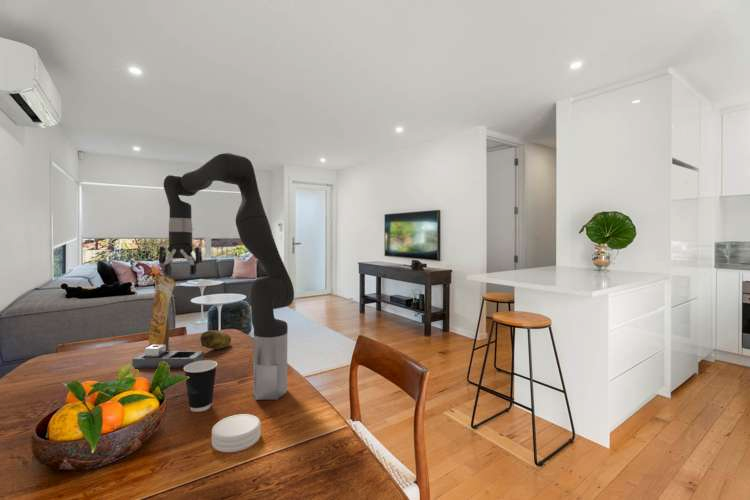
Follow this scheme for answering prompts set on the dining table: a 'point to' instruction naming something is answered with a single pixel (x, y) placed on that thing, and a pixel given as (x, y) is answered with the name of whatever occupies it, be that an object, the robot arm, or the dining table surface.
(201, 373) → the dixie cup
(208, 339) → the potato
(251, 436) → the coaster
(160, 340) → the pancake mix bag
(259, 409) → the dining table surface
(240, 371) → the dining table surface
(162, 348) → the nut block
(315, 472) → the dining table surface
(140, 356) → the grey compartment tray
